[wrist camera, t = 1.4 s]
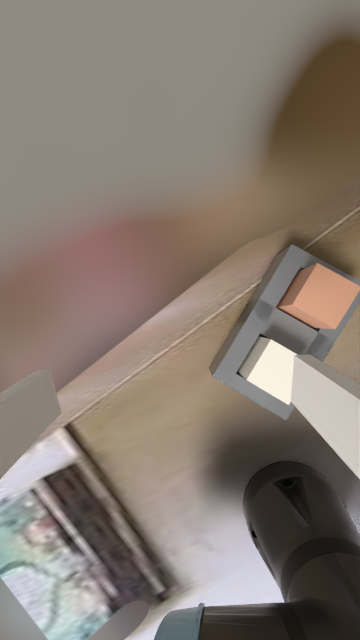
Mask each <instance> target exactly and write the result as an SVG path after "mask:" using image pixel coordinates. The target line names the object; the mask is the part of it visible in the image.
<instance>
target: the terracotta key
mask: <svg viewBox="0 0 360 640" xmlns="http://www.w3.org/2000/svg"><path fill="white" fill-rule="evenodd" d="M359 291H360V286H359V285H357V284H355V283H353V282H351V281H350V280H348V279H346V278H344V277H342V276H341V275H339V274H337V273H335V272H333V271H331V270H330V269H328V268H326V267H324V266H322V265H320V264H319V263H316V264H314V265H312V266H309V267H307V268H305V269H303V270H301V271H298V272H297V273H296V275H295V276H294V278H293V280H292V281H291V283H290V285H289V286H288V288H287V290H286V291H285V293H284V295H283V296H282V298H281V300H280V301H279V303H278V304H277V306H276V308H277V309H279V310H280V311H282V312H284V313H286V314H288V315H289V316H291V317H293V318H295V319H296V320H298V321H300V322H302V323H303V324H305V325H307V326H309V327H310V328H322V329H336V328H337V326H338V325H339V323H340V321H341V320H342V318H343V316H344V315H345V313H346V312H347V310H348V308H349V307H350V305H351V304H352V302H353V300H354V299H355V297H356V295H357V294H358V292H359Z"/></svg>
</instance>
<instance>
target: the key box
mask: <svg viewBox="0 0 360 640" xmlns="http://www.w3.org/2000/svg"><path fill="white" fill-rule="evenodd" d="M316 263H319V264H320V265H322V266H324V267H326V268H328V269H330V270H331V271H333V272H335V273H337V274H339V275H341V276H342V277H344V278H346V279H348V280H350V281H351V282H353V283H355V284H357V285H359V286H360V281H359V280H357V279H355V278H353V277H352V276H350V275H348V274H346V273H344V272H342V271H341V270H339V269H337V268H335V267H333V266H331V265H330V264H328V263H326V262H324V261H322V260H320V259H319V258H317V257H315V256H313V255H311V254H309V253H307V252H306V251H304V250H302V249H300V248H298V247H296V246H295V245H293V244H292V245H290V246H289V247H288V248H286V249H285V250H283V251H282V252H281V253H279V254H278V255H277V256H276V257H275V259H274V260H273V262H272V264H271V265H270V267H269V269H268V270H267V272H266V274H265V275H264V277H263V279H262V280H261V282H260V284H259V285H258V287H257V289H256V290H255V292H254V294H253V295H252V297H251V299H250V300H249V302H248V304H247V305H246V307H245V309H244V310H243V312H242V314H241V316H240V317H239V319H238V321H237V322H236V324H235V326H234V327H233V329H232V331H231V332H230V334H229V336H228V337H227V339H226V341H225V342H224V344H223V346H222V347H221V349H220V351H219V352H218V354H217V356H216V357H215V359H214V361H213V362H212V364H211V366H210V367H209V369H210V372H211V374H212V377H214V378H216V379H217V380H219V381H221V382H222V383H224V384H226V385H227V386H229V387H231V388H232V389H234V390H236V391H237V392H239V393H241V394H242V395H244V396H246V397H247V398H249V399H251V400H252V401H254V402H256V403H257V404H259V405H261V406H262V407H264V408H266V409H267V410H269V411H271V412H272V413H274V414H275V415H277V416H279V417H280V418H282V419H284V420H285V421H286V420H287V419H288V417H289V415H290V414H291V412H292V411H293V409H294V407H295V406H294V404H293V403H292V402H290V404H289V405H288V404H286V403H284V402H282V401H281V400H279V399H277V398H276V397H274V396H272V395H271V394H269V393H267V392H266V391H264V390H262V389H261V388H259V387H257V386H256V385H254V384H252V383H251V382H249V381H247V380H246V379H245V378H244V377H243V376H242V375H241V374H240V373H239V372H238V369H239V367H240V366H241V364H242V362H243V361H244V359H245V357H246V356H247V354H248V352H249V351H250V349H251V348H252V346H253V344H254V343H255V341H256V339H257V338H258V336H259V337H264V338H268V339H271V340H273V341H275V342H277V343H278V344H280V345H282V346H284V347H285V348H287V349H289V350H291V351H292V352H294V353H296V354H297V355H307V354H310V355H311V356H313V357H315V358H316V359H318V360H320V361H321V362H323V361H324V359H325V357H326V356H327V354H328V353H329V351H330V349H331V348H332V346H333V344H334V343H335V341H336V340H337V338H338V336H339V335H340V333H341V332H342V330H343V328H344V327H345V325H346V324H347V322H348V320H349V319H350V317H351V315H352V314H353V312H354V311H355V309H356V307H357V306H358V304H359V303H360V291H359V292H358V294H357V295H356V297H355V299H354V300H353V302H352V304H351V305H350V307H349V308H348V310H347V312H346V313H345V315H344V316H343V318H342V320H341V321H340V323H339V325H338V326H337V328H336V329H322V328H310V327H309V326H307V325H305V324H303V323H302V322H300V321H298V320H296V319H295V318H293V317H291V316H289V315H288V314H286V313H284V312H282V311H280V310H279V309H277V308H276V306H277V304H278V303H279V301H280V300H281V298H282V296H283V295H284V293H285V291H286V290H287V288H288V286H289V285H290V283H291V281H292V280H293V278H294V276H295V275H296V273H297V272H298V271H301V270H303V269H305V268H307V267H309V266H312V265H314V264H316Z"/></svg>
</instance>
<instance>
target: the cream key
mask: <svg viewBox="0 0 360 640" xmlns="http://www.w3.org/2000/svg"><path fill="white" fill-rule="evenodd" d="M294 355H297V354H296V353H294V352H292V351H291V350H289V349H287V348H285V347H284V346H282V345H280V344H278V343H277V342H275V341H273V340H271V339H268V338H264V337H259V336H258V338H257V339H256V341H255V343H254V344H253V346H252V348H251V349H250V351H249V352H248V354H247V356H246V357H245V359H244V361H243V362H242V364H241V366H240V367H239V369H238V372H239V373H240V374H241V375H242V376H243V377H244V378H245V379H246V380H247V381H249V382H251V383H252V384H254V385H256V386H257V387H259V388H261V389H262V390H264V391H266V392H267V393H269V394H271V395H272V396H274V397H276V398H277V399H279V400H281V401H282V402H284V403H286V404H288V405H289V404H290V402H291V390H292V378H293V365H294Z"/></svg>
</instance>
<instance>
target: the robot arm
mask: <svg viewBox="0 0 360 640" xmlns="http://www.w3.org/2000/svg"><path fill="white" fill-rule="evenodd" d="M291 402H292V403H293V404H294V406H295V407H296V408H297V409H298V410H299V411H300V412H301V413H302V415H303V416H304V417H305V418H306V419H307V420H308V421H309V423H310V424H311V425H312V426H313V427H314V428H315V429H316V430H317V432H318V433H319V434H320V435H321V436H322V437H323V438H324V440H325V441H326V442H327V443H328V444H329V445H330V446H331V447H332V449H333V450H334V451H335V452H336V453H337V454H338V455H339V457H340V458H341V459H342V460H343V461H344V462H345V463H346V464H347V466H348V467H349V468H350V469H351V470H352V471H353V472H354V474H355V475H356V476H357V477H358V478H359V479H360V384H359V383H357V382H355V381H354V380H352V379H350V378H348V377H347V376H345V375H343V374H342V373H340V372H338V371H337V370H335V369H333V368H332V367H330V366H328V365H326V364H325V363H323V362H321V361H320V360H318V359H316V358H315V357H313V356H311V355H310V354H307V355H294V365H293V378H292V390H291ZM60 414H61V409H60V405H59V402H58V398H57V394H56V391H55V387H54V383H53V379H52V376H51V372H50V370H40V371H35V372H34V373H32V374H30V375H29V376H27V377H25V378H24V379H22V380H21V381H19V382H17V383H16V384H14V385H12V386H11V387H9V388H8V389H6V390H4V391H3V392H1V393H0V479H1V478H2V477H3V475H4V474H5V473H6V472H7V471H8V470H9V469H10V468H11V467H12V466H13V465H14V464H15V462H16V461H17V460H18V459H19V458H20V457H21V456H22V455H23V454H24V453H25V452H26V451H27V449H28V448H29V447H30V446H31V445H32V444H33V443H34V442H35V441H36V440H37V439H38V438H39V436H40V435H41V434H42V433H43V432H44V431H45V430H46V429H47V428H48V427H49V426H50V425H51V423H52V422H53V421H54V420H55V419H56V418H57V417H58V416H59V415H60ZM243 509H244V515H245V519H246V522H247V526H248V530H249V533H250V535H251V538H252V540H253V542H254V544H255V546H256V548H257V549H258V551H259V553H260V555H261V557H262V558H263V560H264V562H265V564H266V565H267V567H268V569H269V571H270V572H271V574H272V576H273V578H274V580H275V581H276V583H277V585H278V587H279V588H280V590H281V593H282V596H283V599H284V602H285V603H264V604H249V605H230V606H209V607H204V603H200V604H199V606H198V607H194V608H187V609H181V610H174V611H171V612H169V613H168V614H167V615H166V616H165V617H164V619H163V620H162V622H161V624H160V626H159V628H158V630H157V633H156V635H155V638H154V640H360V535H359V533H358V531H357V529H356V527H355V525H354V523H353V521H352V519H351V517H350V515H349V513H348V511H347V509H346V507H345V505H344V503H343V501H342V500H341V498H340V497H339V495H338V494H337V492H336V491H335V490H334V489H333V488H332V486H331V485H330V484H329V483H328V482H327V481H326V479H325V478H324V477H323V476H322V475H321V474H319V473H318V472H317V471H315V470H314V469H312V468H310V467H308V466H306V465H303V464H300V463H295V462H280V463H275V464H272V465H269V466H267V467H265V468H264V469H262V470H261V471H259V472H258V473H257V474H256V475H255V476H254V477H253V478H252V480H251V481H250V482H249V484H248V486H247V488H246V491H245V494H244V500H243Z"/></svg>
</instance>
